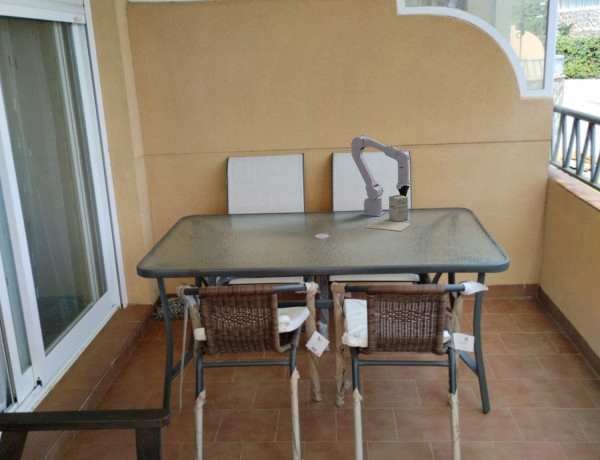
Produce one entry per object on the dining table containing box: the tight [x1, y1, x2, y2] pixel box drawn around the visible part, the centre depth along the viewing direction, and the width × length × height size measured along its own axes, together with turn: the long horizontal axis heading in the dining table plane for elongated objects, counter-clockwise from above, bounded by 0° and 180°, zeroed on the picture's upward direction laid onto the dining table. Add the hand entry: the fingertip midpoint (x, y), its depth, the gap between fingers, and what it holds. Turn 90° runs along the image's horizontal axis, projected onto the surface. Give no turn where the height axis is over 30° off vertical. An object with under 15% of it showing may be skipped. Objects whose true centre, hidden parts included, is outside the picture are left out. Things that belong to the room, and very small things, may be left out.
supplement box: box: [388, 194, 409, 222], centre depth 317 cm, size 7×7×13 cm
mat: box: [364, 219, 412, 232], centre depth 308 cm, size 20×14×1 cm
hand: (403, 199), depth 322 cm, fingers closed
